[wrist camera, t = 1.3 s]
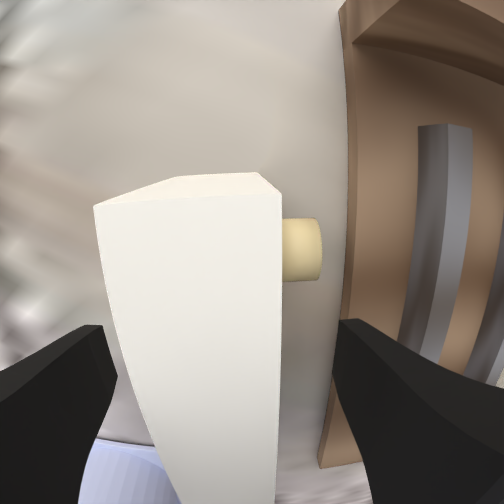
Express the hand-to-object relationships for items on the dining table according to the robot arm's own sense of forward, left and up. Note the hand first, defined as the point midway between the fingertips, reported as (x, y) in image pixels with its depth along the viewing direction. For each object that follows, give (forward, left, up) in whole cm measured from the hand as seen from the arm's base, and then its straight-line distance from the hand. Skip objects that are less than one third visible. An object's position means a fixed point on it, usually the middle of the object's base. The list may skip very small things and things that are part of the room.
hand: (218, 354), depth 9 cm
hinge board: (0, -11, -4) cm, 12 cm away
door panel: (0, 0, -4) cm, 4 cm away
